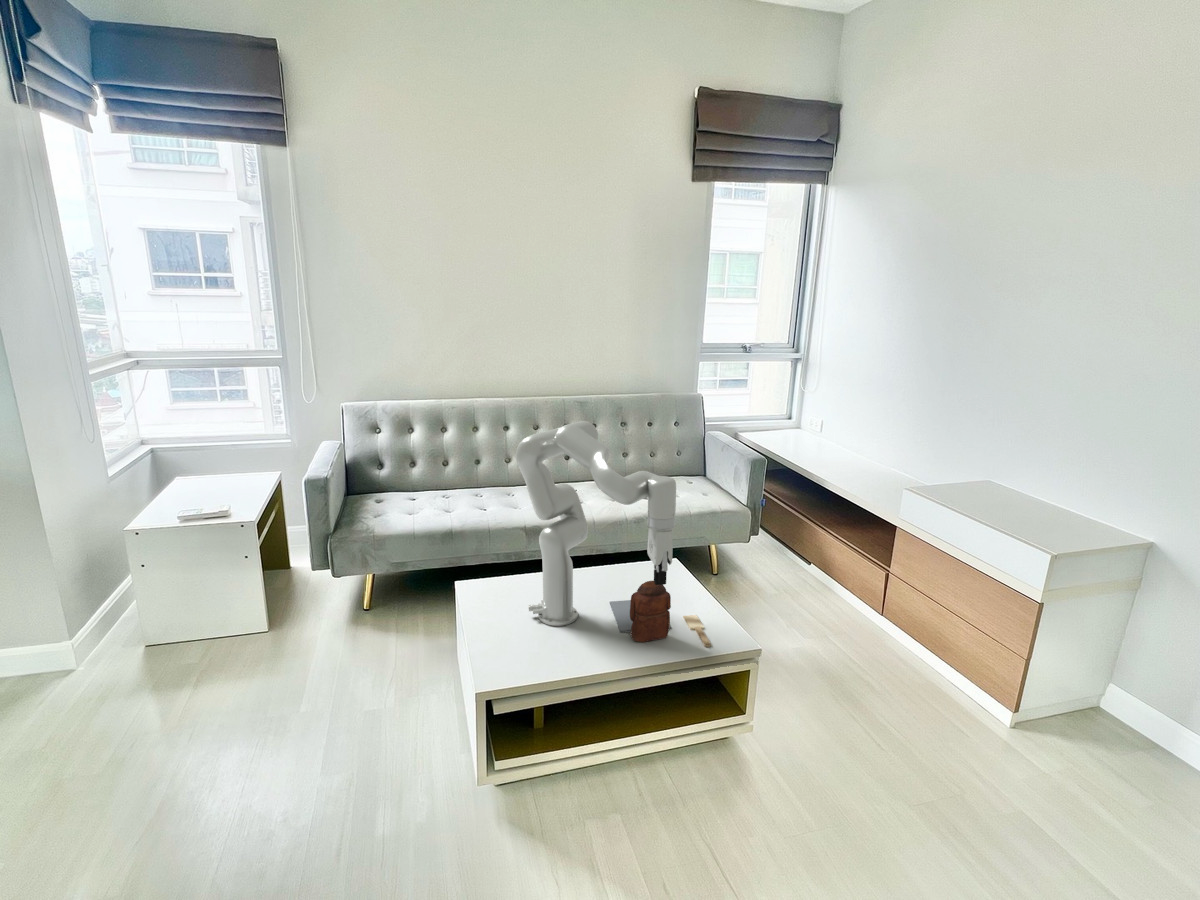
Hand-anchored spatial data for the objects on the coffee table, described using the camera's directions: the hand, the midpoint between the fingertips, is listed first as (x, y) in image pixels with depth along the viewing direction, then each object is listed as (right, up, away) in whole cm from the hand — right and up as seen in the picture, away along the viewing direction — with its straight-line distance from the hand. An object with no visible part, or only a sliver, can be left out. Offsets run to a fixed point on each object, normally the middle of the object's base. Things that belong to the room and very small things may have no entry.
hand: (659, 583), depth 173 cm
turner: (+13, -18, +19) cm, 29 cm away
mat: (-4, -16, +27) cm, 31 cm away
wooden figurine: (-2, -19, +14) cm, 24 cm away
